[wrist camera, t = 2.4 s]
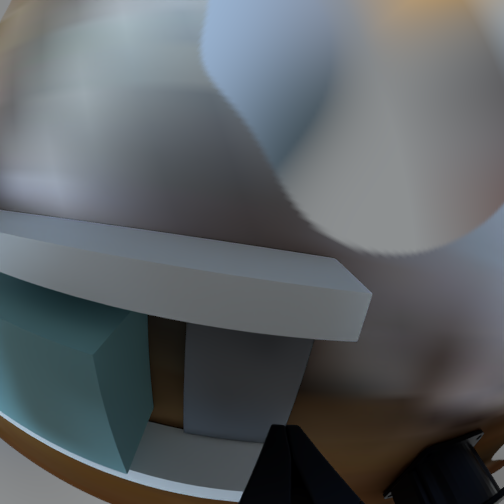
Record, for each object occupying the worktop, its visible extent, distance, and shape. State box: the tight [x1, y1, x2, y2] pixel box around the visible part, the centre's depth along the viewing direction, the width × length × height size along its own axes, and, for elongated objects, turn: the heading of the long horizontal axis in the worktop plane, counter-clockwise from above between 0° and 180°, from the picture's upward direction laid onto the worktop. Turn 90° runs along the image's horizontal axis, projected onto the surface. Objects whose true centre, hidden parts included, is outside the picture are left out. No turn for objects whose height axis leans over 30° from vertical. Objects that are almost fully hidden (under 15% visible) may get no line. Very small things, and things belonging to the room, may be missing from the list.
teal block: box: [0, 272, 154, 474], centre depth 8 cm, size 6×6×4 cm
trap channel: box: [0, 210, 372, 502], centre depth 8 cm, size 15×10×3 cm, turn 81°
